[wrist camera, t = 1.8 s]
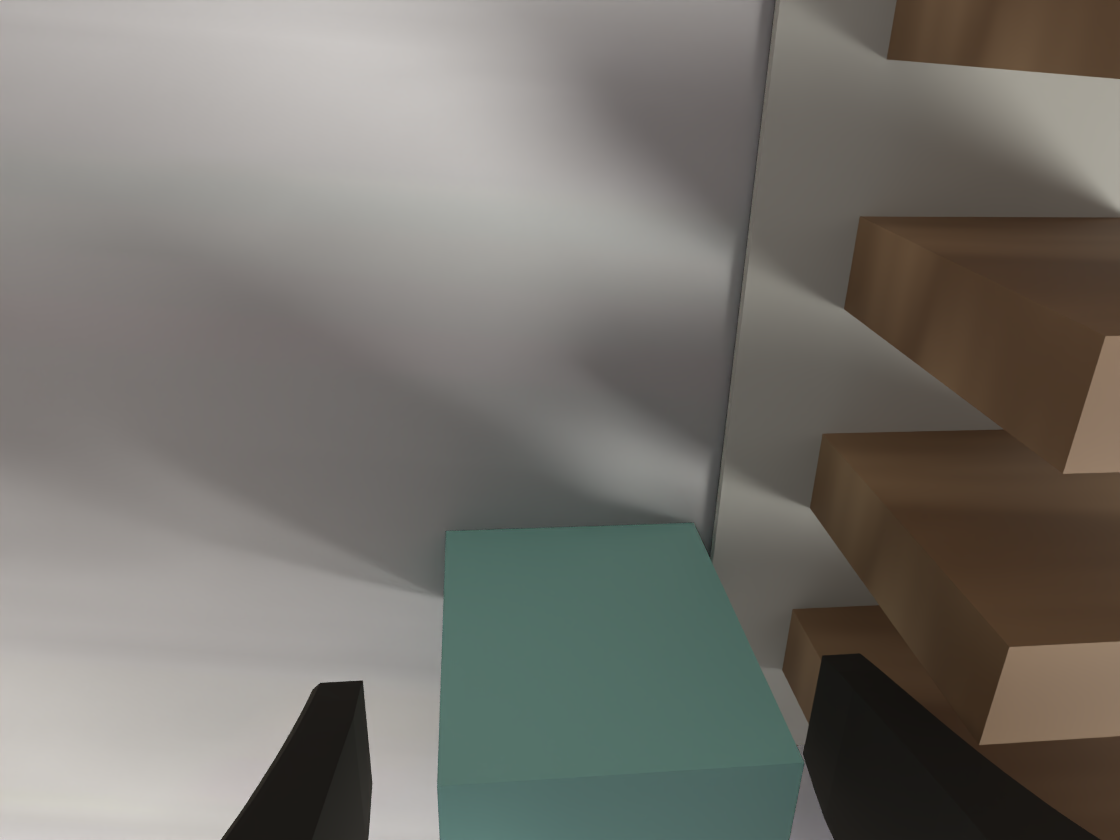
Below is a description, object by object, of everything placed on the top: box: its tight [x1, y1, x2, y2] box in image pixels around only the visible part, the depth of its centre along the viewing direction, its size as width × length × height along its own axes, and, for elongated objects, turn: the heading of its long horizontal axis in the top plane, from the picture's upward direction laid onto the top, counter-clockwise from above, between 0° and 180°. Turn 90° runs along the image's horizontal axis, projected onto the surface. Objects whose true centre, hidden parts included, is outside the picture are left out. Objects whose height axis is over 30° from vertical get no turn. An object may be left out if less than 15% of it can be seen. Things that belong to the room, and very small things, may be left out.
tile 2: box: [810, 429, 1120, 745], centre depth 14 cm, size 2×5×6 cm, turn 89°
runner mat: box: [710, 0, 1120, 745], centre depth 15 cm, size 22×8×1 cm, turn 178°
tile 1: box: [782, 605, 1120, 840], centre depth 15 cm, size 2×5×6 cm, turn 88°
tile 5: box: [437, 523, 804, 840], centre depth 14 cm, size 2×5×6 cm, turn 88°
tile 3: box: [844, 216, 1120, 474], centre depth 12 cm, size 2×5×6 cm, turn 89°
